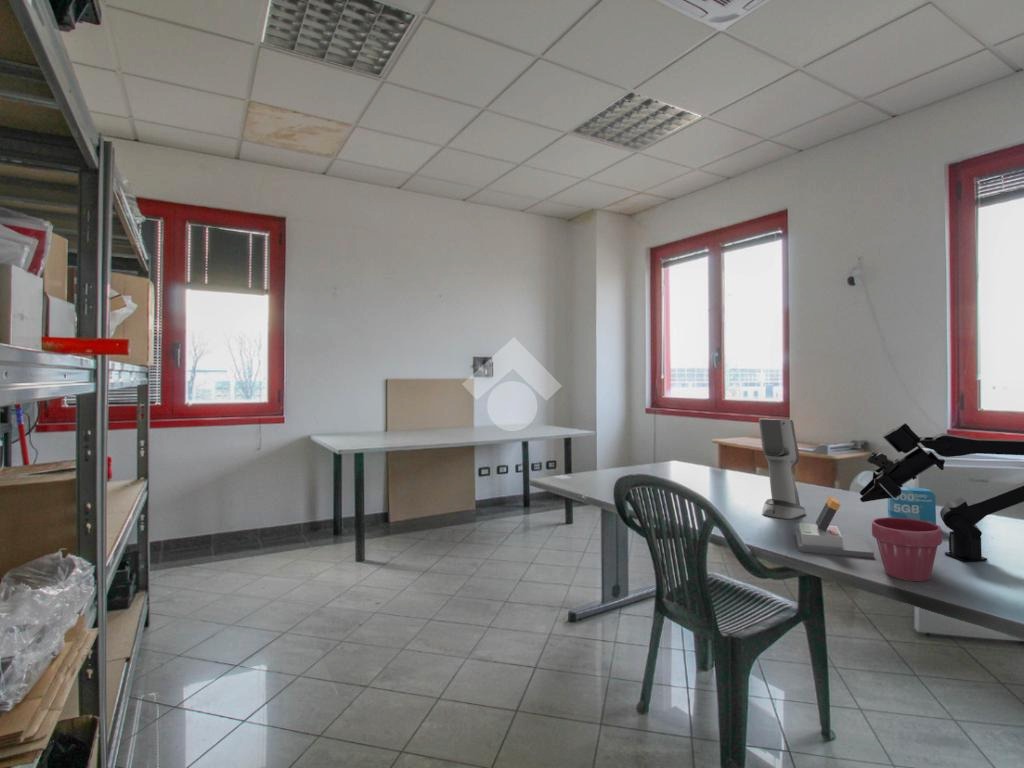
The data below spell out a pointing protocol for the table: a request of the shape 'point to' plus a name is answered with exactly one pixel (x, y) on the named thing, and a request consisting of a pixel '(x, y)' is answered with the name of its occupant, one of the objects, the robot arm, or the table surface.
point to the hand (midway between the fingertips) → (860, 497)
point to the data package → (913, 505)
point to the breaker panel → (847, 549)
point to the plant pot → (907, 546)
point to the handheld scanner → (781, 468)
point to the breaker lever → (827, 513)
